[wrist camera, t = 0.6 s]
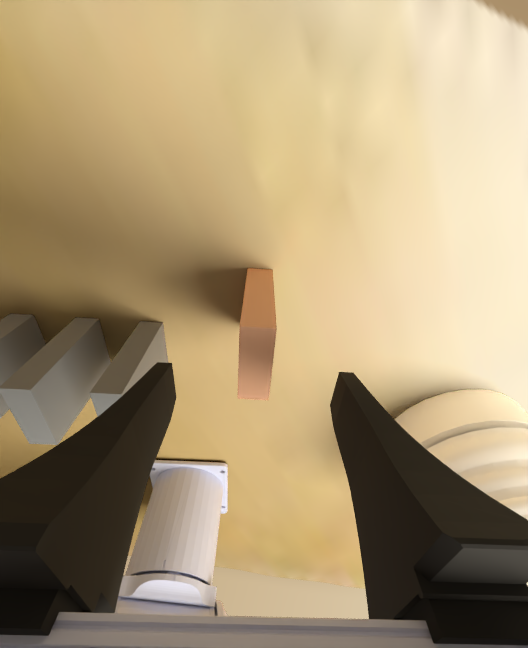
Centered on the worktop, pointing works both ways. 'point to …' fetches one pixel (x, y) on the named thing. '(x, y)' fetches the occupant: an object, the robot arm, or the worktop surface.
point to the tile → (257, 335)
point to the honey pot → (477, 440)
